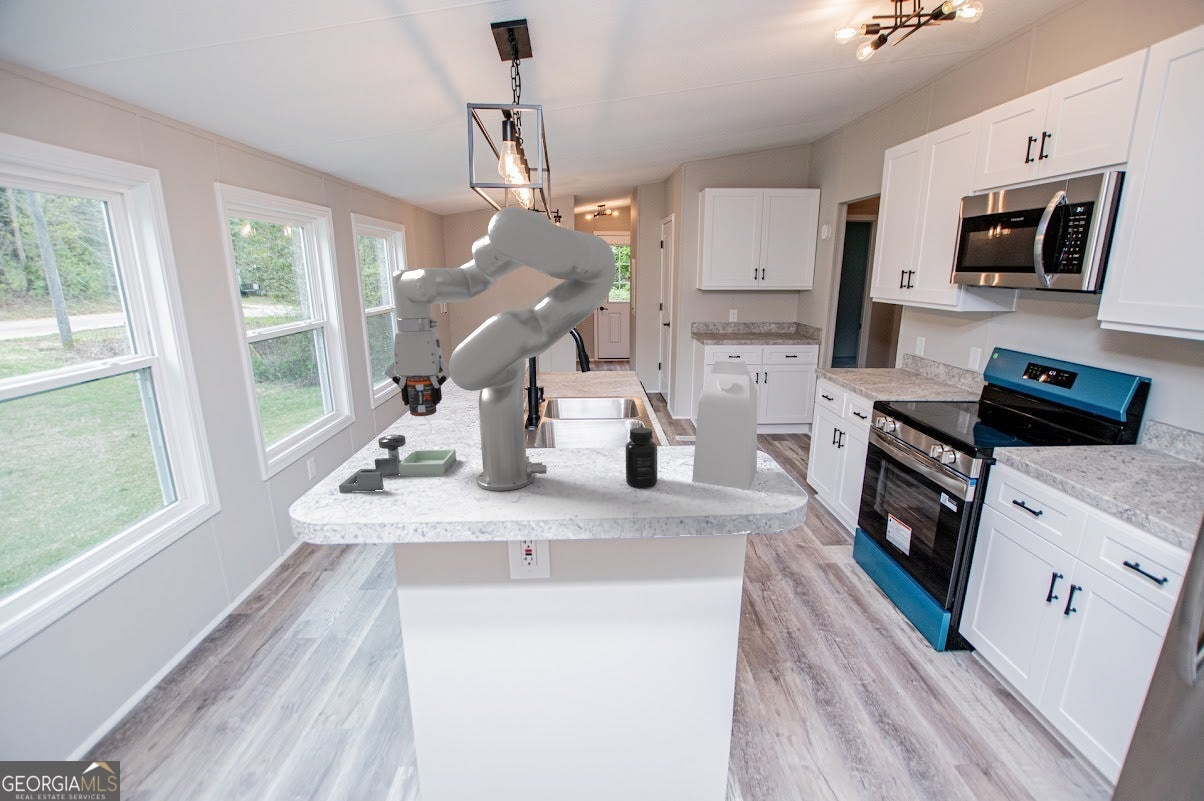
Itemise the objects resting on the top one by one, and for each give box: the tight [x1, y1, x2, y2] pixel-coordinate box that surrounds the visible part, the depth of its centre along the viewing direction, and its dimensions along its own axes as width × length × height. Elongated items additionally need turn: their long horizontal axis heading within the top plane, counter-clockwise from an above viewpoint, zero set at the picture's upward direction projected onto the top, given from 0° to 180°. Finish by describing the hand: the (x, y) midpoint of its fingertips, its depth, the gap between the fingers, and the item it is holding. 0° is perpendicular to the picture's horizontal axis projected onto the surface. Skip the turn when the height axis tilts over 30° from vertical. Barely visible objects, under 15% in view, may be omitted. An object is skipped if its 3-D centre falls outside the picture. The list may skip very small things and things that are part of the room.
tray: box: [399, 449, 457, 477], centre depth 121 cm, size 10×10×3 cm
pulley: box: [377, 433, 407, 464], centre depth 122 cm, size 6×6×8 cm
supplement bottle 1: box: [407, 376, 437, 417], centre depth 117 cm, size 6×6×11 cm
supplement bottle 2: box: [625, 427, 658, 489], centre depth 108 cm, size 7×7×12 cm
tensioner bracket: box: [338, 457, 400, 493], centre depth 112 cm, size 9×10×4 cm
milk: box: [691, 359, 758, 491], centre depth 110 cm, size 12×12×26 cm
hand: (422, 403), depth 118 cm, fingers closed on supplement bottle 1, 6 cm apart
